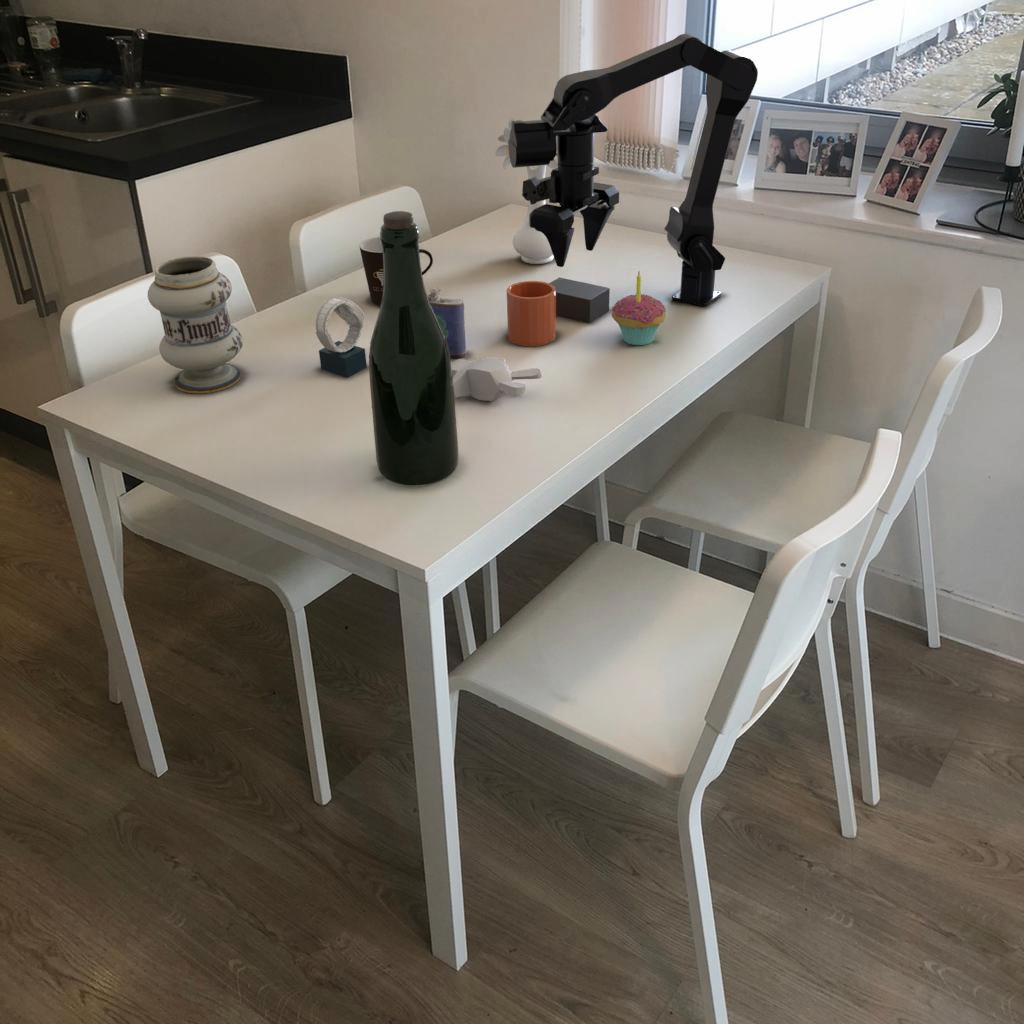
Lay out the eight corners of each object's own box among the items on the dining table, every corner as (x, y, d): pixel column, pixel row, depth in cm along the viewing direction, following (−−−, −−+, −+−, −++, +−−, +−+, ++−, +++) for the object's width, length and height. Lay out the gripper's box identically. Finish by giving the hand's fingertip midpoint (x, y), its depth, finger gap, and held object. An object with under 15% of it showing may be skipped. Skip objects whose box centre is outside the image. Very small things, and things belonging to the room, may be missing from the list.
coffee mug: (355, 305, 187) (350, 249, 181) (379, 288, 193) (374, 234, 188) (415, 313, 183) (411, 256, 177) (437, 296, 190) (434, 240, 184)
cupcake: (661, 351, 167) (666, 277, 161) (607, 348, 169) (609, 275, 162) (666, 330, 174) (670, 258, 168) (614, 327, 176) (616, 256, 169)
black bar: (559, 299, 187) (559, 277, 185) (609, 310, 182) (609, 287, 180) (539, 311, 182) (539, 288, 180) (589, 322, 178) (590, 300, 175)
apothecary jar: (161, 371, 165) (136, 258, 156) (239, 357, 169) (220, 245, 159) (173, 403, 156) (147, 284, 146) (255, 387, 160) (236, 270, 150)
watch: (375, 362, 166) (368, 295, 160) (339, 381, 161) (330, 312, 155) (348, 354, 169) (341, 288, 163) (312, 373, 164) (303, 304, 158)
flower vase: (566, 277, 196) (567, 136, 182) (482, 261, 204) (477, 125, 191) (600, 256, 205) (603, 120, 192) (518, 241, 213) (516, 110, 200)
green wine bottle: (396, 444, 144) (372, 197, 126) (470, 453, 141) (457, 203, 123) (364, 483, 135) (335, 224, 118) (443, 493, 133) (425, 231, 115)
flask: (469, 353, 168) (465, 288, 163) (461, 360, 166) (457, 294, 160) (416, 346, 171) (410, 281, 166) (407, 353, 169) (402, 288, 163)
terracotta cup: (525, 324, 178) (524, 277, 174) (564, 333, 174) (564, 286, 170) (498, 340, 172) (497, 292, 168) (538, 350, 169) (538, 302, 164)
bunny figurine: (453, 348, 160) (544, 353, 154) (459, 379, 163) (548, 386, 156) (422, 373, 153) (516, 379, 146) (428, 405, 156) (520, 413, 149)
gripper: (563, 143, 179) (563, 234, 188) (499, 169, 166) (502, 266, 175) (622, 151, 174) (619, 245, 182) (560, 178, 161) (560, 278, 169)
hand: (575, 258), depth 177 cm, fingers open, 9 cm apart
